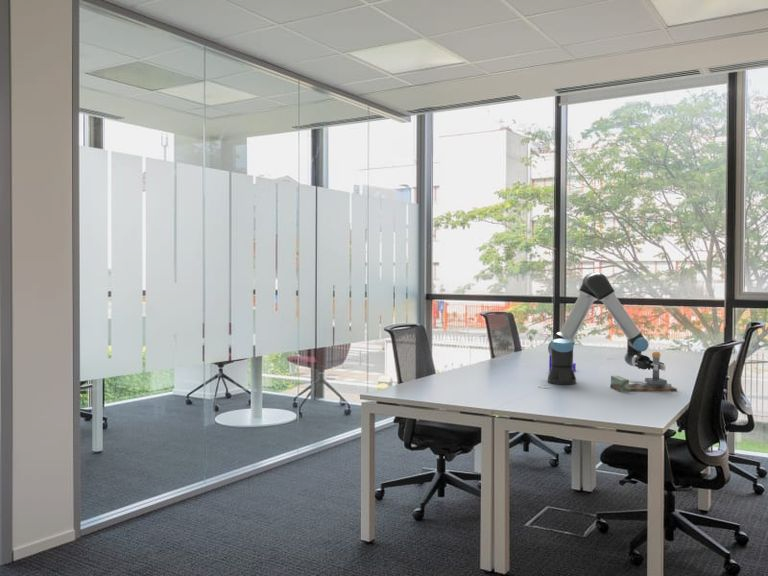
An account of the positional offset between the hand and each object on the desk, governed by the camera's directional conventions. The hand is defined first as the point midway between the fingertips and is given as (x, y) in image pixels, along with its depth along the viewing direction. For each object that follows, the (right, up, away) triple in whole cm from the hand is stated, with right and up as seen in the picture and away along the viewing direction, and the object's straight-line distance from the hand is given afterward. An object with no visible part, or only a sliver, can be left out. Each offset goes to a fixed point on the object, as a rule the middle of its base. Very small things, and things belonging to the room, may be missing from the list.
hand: (660, 367), depth 349 cm
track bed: (-7, -12, +6) cm, 15 cm away
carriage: (0, -9, +6) cm, 11 cm away
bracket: (-30, -10, +69) cm, 76 cm away
